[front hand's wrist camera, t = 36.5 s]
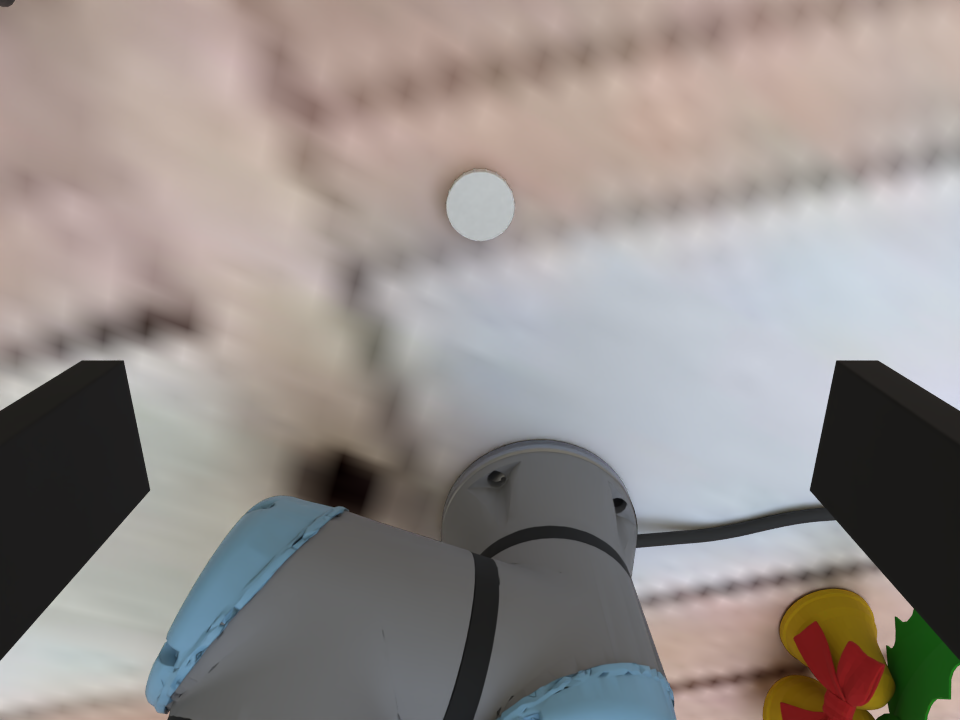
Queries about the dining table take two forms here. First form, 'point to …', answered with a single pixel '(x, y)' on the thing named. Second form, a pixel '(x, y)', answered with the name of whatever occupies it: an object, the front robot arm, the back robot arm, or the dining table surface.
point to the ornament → (857, 663)
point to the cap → (480, 205)
